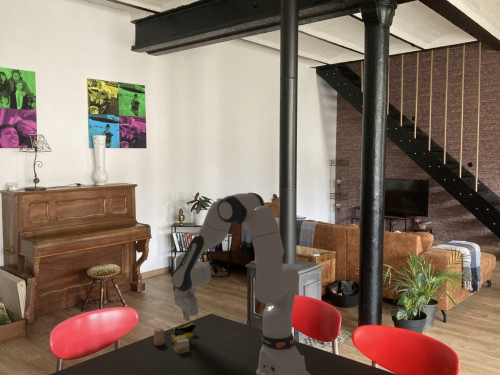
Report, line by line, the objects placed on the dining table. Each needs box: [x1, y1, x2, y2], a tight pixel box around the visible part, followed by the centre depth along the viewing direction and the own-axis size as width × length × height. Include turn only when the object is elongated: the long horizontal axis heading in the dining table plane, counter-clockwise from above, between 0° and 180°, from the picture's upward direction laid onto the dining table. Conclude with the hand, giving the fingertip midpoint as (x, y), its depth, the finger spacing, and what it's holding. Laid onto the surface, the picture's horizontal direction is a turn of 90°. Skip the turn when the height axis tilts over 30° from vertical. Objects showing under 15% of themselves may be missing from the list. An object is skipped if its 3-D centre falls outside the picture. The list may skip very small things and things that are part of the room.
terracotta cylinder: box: [153, 327, 165, 347], centre depth 203 cm, size 4×4×6 cm
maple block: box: [173, 336, 190, 355], centre depth 196 cm, size 5×5×5 cm
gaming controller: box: [171, 322, 197, 344], centre depth 207 cm, size 15×6×10 cm
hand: (186, 319), depth 207 cm, fingers closed
